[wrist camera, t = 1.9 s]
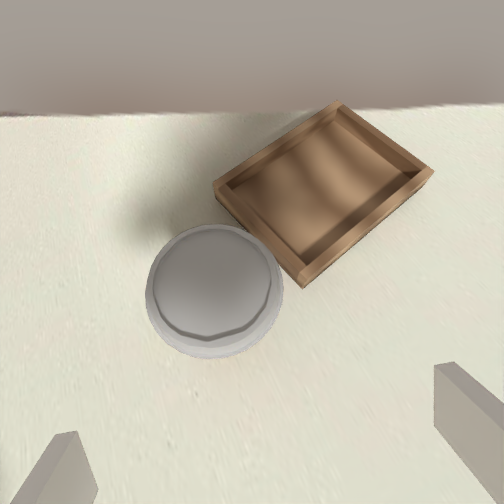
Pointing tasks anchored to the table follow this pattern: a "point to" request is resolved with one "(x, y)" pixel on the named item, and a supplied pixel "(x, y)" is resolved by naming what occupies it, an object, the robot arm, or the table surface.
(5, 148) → the table surface
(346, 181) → the trough tray
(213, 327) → the disposable coffee cup
